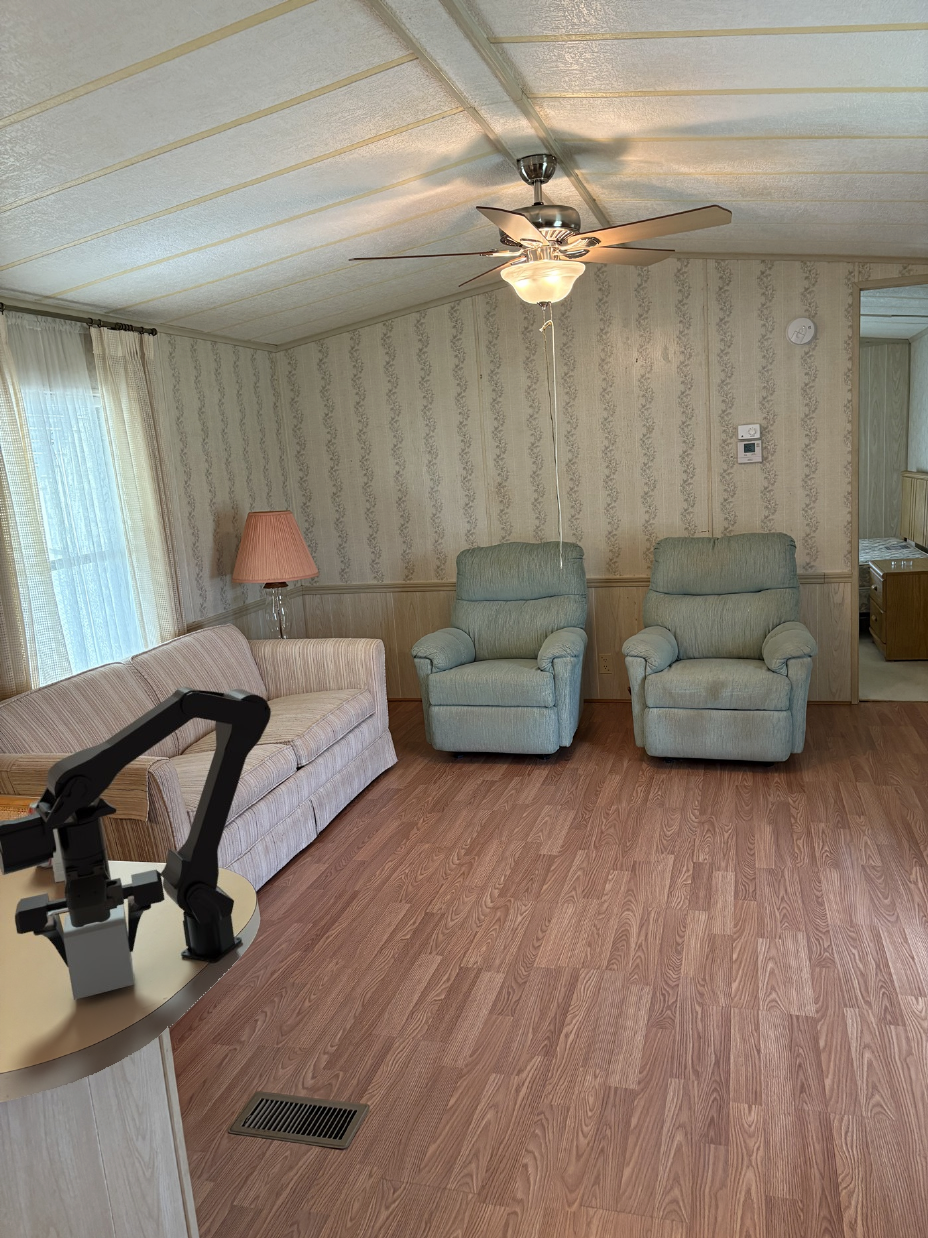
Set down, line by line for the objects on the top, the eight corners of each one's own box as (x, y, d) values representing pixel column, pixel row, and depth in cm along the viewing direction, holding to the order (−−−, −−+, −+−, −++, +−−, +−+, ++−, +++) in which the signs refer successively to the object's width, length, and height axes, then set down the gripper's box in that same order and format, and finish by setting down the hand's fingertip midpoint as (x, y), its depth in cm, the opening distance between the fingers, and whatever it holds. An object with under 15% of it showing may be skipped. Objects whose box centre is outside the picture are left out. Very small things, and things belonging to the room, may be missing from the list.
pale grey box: (132, 959, 137) (123, 901, 136) (134, 984, 130) (124, 924, 129) (74, 973, 134) (65, 915, 133) (73, 1000, 127) (63, 938, 126)
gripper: (2, 890, 119) (23, 1005, 121) (158, 857, 125) (174, 967, 127) (10, 859, 129) (28, 966, 131) (154, 829, 135) (169, 932, 138)
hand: (100, 958), depth 132 cm, fingers closed on pale grey box, 8 cm apart
